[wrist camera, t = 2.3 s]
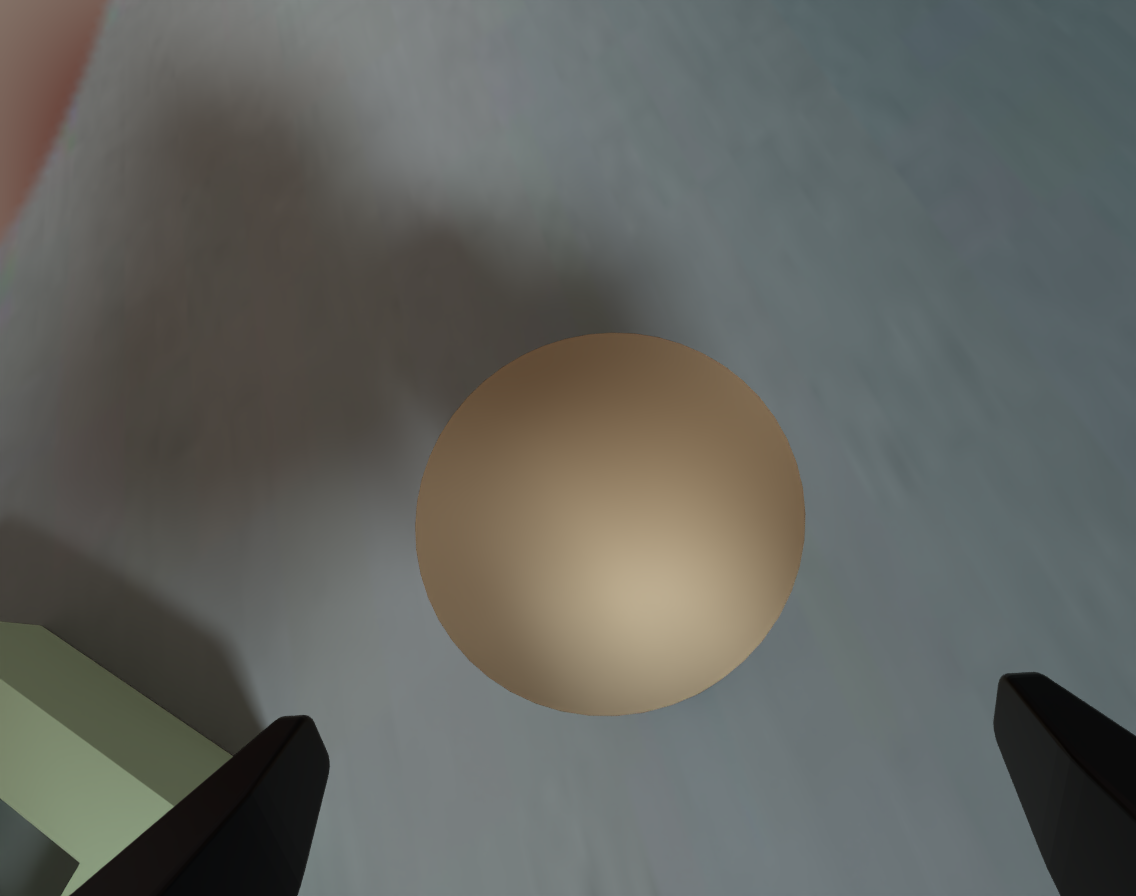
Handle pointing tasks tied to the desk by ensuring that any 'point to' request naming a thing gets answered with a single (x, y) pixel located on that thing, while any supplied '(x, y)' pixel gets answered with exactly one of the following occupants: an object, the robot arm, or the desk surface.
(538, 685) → the beige ridged cylinder
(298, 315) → the desk surface
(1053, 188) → the desk surface
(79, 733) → the pale green square holder
